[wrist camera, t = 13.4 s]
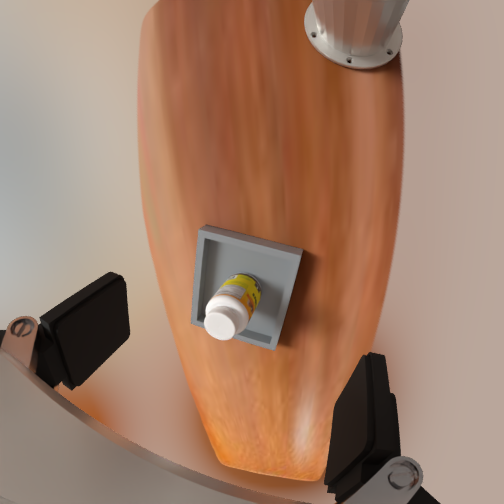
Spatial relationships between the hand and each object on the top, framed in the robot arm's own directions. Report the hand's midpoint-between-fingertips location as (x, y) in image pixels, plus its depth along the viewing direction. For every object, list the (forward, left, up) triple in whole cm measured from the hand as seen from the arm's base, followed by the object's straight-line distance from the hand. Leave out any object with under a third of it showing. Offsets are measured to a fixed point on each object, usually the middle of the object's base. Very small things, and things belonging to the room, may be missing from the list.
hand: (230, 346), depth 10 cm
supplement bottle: (+14, -6, -28) cm, 32 cm away
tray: (+14, -6, -28) cm, 32 cm away
